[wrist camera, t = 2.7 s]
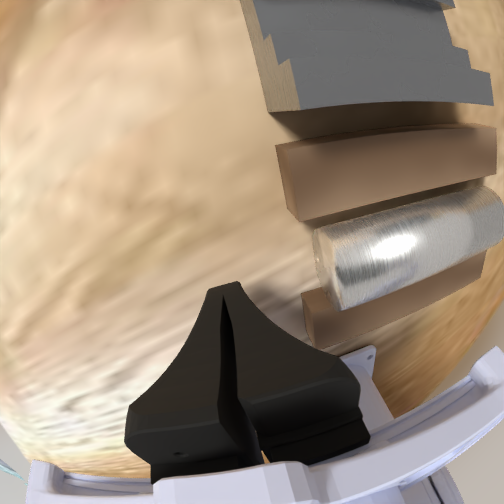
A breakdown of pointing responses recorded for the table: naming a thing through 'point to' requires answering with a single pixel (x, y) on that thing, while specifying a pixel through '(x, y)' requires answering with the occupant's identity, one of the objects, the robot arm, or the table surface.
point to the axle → (404, 244)
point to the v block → (359, 53)
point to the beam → (375, 190)
